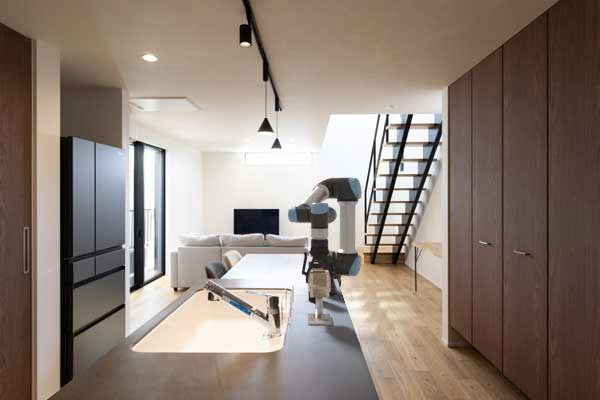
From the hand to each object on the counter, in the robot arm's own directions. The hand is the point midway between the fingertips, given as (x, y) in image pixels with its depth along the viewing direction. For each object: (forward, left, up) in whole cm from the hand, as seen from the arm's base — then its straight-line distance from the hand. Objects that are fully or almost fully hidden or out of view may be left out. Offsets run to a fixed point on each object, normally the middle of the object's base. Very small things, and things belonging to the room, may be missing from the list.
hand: (319, 290), depth 158 cm
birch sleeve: (0, 0, -2) cm, 2 cm away
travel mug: (-25, -19, -13) cm, 34 cm away
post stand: (0, 0, -13) cm, 13 cm away
